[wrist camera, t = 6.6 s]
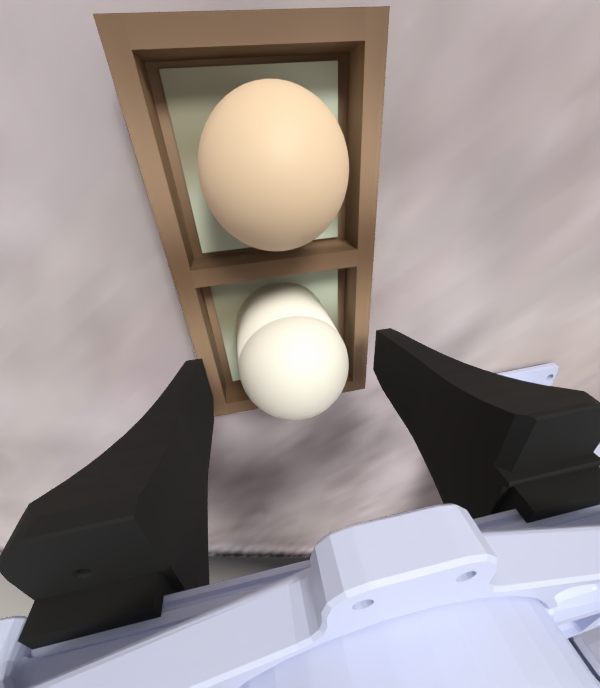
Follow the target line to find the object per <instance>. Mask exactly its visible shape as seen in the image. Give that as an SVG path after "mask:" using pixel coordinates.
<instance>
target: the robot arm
mask: <svg viewBox="0 0 600 688" xmlns="http://www.w3.org/2000/svg"><path fill="white" fill-rule="evenodd" d="M558 369H559V367H558V366H557V365H555V364H554V363H549V364H543V365H538V366H533V367H528V368H522V369H517V370H512V371H507V372H502V373H492V372H489V371H486V370H482V369H480V368H477V367H474V366H471V365H468V364H466V363H463V362H460V361H458V360H455V359H453V358H451V357H448V356H446V355H444V354H442V353H439V352H437V351H435V350H433V349H431V348H429V347H427V346H425V345H423V344H421V343H419V342H417V341H415V340H413V339H411V338H409V337H407V336H406V335H404V334H402V333H400V332H398V331H395V330H393V329H391V328H389V329H382V330H376V341H375V354H374V367H373V370H374V372H375V374H376V376H377V379H378V381H379V383H380V385H381V387H382V389H383V391H384V392H385V394H386V396H387V397H388V399H389V400H390V402H391V403H392V405H393V407H394V408H395V410H396V411H397V413H398V414H399V416H400V417H401V419H402V420H403V422H404V424H405V425H406V427H407V428H408V430H409V432H410V433H411V435H412V437H413V439H414V440H415V442H416V444H417V446H418V448H419V450H420V452H421V454H422V456H423V459H424V461H425V463H426V465H427V467H428V469H429V471H430V473H431V476H432V478H433V480H434V482H435V485H436V487H437V489H438V491H439V494H440V496H441V498H442V501H443V503H444V504H437V505H431V506H427V507H423V508H419V509H415V510H410V511H406V512H402V513H398V514H394V515H389V516H385V517H381V518H377V519H373V520H368V521H364V522H360V523H356V524H352V525H348V526H345V527H343V528H340V529H337V530H335V531H332V532H330V533H329V534H327V535H326V536H325V537H324V538H322V539H321V540H320V541H318V542H317V544H316V545H315V547H314V550H313V552H312V554H311V557H310V560H307V561H303V562H299V563H295V564H291V565H287V566H283V567H278V568H274V569H270V570H266V571H262V572H258V573H254V574H250V575H246V576H242V577H238V578H234V579H230V580H226V581H222V582H218V583H214V584H210V585H209V566H208V565H209V564H208V509H207V499H208V468H209V459H210V451H211V442H212V433H213V424H214V400H213V394H212V391H211V387H210V384H209V380H208V377H207V373H206V370H205V367H204V363H203V360H202V358H201V359H195V360H189V361H186V362H185V363H184V365H183V366H182V367H181V369H180V370H179V372H178V373H177V374H176V376H175V377H174V379H173V380H172V381H171V383H170V384H169V385H168V387H167V388H166V389H165V391H164V392H163V393H162V395H161V396H160V397H159V399H158V400H157V401H156V402H155V403H154V404H153V406H152V407H151V408H150V409H149V410H148V412H147V413H146V414H145V415H144V416H143V417H142V418H141V419H140V420H139V421H138V422H137V423H136V424H135V425H134V426H133V427H132V428H131V429H130V430H129V431H128V432H127V433H126V434H125V435H124V436H123V437H121V438H120V439H119V440H118V441H117V442H116V443H114V444H113V445H112V446H111V447H110V448H109V449H107V450H106V451H105V452H104V453H103V454H101V455H100V456H99V457H98V458H96V459H95V460H94V461H92V462H91V463H90V464H88V465H87V466H86V467H84V468H83V469H82V470H80V471H79V472H77V473H76V474H75V475H73V476H72V477H70V478H69V479H67V480H66V481H64V482H63V483H61V484H60V485H58V486H57V487H55V488H54V489H52V490H50V491H49V492H47V493H46V494H44V495H43V496H41V497H40V498H38V499H36V500H35V501H33V502H31V503H30V504H29V505H28V507H27V508H26V510H25V512H24V514H23V515H22V517H21V519H20V521H19V522H18V524H17V526H16V528H15V530H14V531H13V533H12V535H11V537H10V539H9V541H8V542H7V544H6V546H5V548H4V550H3V552H2V553H1V555H0V572H1V574H2V575H3V576H4V577H5V578H6V579H7V580H8V581H9V582H10V583H12V584H13V585H15V586H16V587H17V588H18V589H20V590H21V591H23V592H24V593H25V594H27V595H28V596H29V597H31V598H32V599H33V600H35V601H34V604H33V606H32V609H31V611H30V613H29V616H28V617H25V616H12V617H6V618H2V619H0V688H600V402H599V401H597V400H596V399H594V398H593V397H592V396H590V395H589V394H588V393H586V392H584V391H579V390H572V389H566V388H559V387H553V386H551V384H552V382H553V380H554V378H555V376H556V374H557V372H558Z"/></svg>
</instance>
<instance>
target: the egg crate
mask: <svg viewBox="0 0 600 688" xmlns="http://www.w3.org/2000/svg"><path fill="white" fill-rule="evenodd" d="M389 9H390V6H382V7H343V8H303V9H264V10H225V11H185V12H146V13H107V14H93V16H94V19H95V22H96V26H97V29H98V32H99V35H100V39H101V42H102V45H103V49H104V52H105V55H106V59H107V62H108V65H109V68H110V72H111V75H112V78H113V82H114V85H115V88H116V92H117V95H118V98H119V102H120V105H121V108H122V111H123V115H124V118H125V121H126V125H127V128H128V131H129V135H130V138H131V141H132V144H133V148H134V151H135V154H136V158H137V161H138V164H139V168H140V171H141V174H142V177H143V181H144V184H145V187H146V191H147V194H148V197H149V201H150V204H151V207H152V211H153V214H154V217H155V220H156V224H157V227H158V230H159V234H160V237H161V240H162V244H163V247H164V250H165V253H166V257H167V260H168V263H169V267H170V270H171V273H172V277H173V280H174V283H175V286H176V290H177V293H178V296H179V300H180V303H181V306H182V310H183V313H184V316H185V320H186V323H187V326H188V329H189V333H190V336H191V339H192V343H193V346H194V349H195V353H196V356H197V359H201V358H202V360H203V363H204V367H205V370H206V373H207V377H208V380H209V384H210V387H211V391H212V394H213V400H214V415H215V416H220V415H225V414H231V413H236V412H241V411H247V410H252V409H257V408H258V407H257V406H256V405H255V404H254V403H253V402H252V401H251V400H250V398H249V397H248V395H247V394H246V392H245V390H244V388H243V386H242V383H241V380H240V376H239V368H238V351H237V333H236V319H237V314H238V311H239V309H240V307H241V305H242V303H243V302H244V301H245V299H246V298H247V297H248V296H249V295H250V294H251V293H253V292H254V291H255V290H257V289H259V288H260V287H263V286H265V285H268V284H271V283H276V282H291V283H296V284H299V285H302V286H304V287H306V288H308V289H309V290H310V291H312V292H313V293H314V294H315V295H316V296H317V298H318V299H319V300H320V302H321V304H322V305H323V307H324V309H325V310H326V312H327V314H328V316H329V317H330V319H331V321H332V322H333V324H334V326H335V327H336V329H337V331H338V332H339V334H340V336H341V338H342V340H343V342H344V344H345V347H346V349H347V354H348V360H349V370H348V376H347V380H346V384H345V386H344V388H343V390H342V392H341V393H343V392H348V391H354V390H359V389H364V388H365V381H366V365H367V350H368V334H369V319H370V303H371V288H372V272H373V257H374V241H375V226H376V210H377V195H378V179H379V164H380V148H381V133H382V117H383V102H384V86H385V71H386V55H387V40H388V24H389ZM260 79H281V80H286V81H290V82H293V83H295V84H298V85H300V86H302V87H304V88H305V89H307V90H309V91H310V92H312V93H313V94H314V95H315V96H317V97H318V98H319V99H320V100H321V101H322V102H323V103H324V104H325V105H326V106H327V107H328V108H329V110H330V111H331V112H332V114H333V115H334V117H335V118H336V120H337V122H338V124H339V126H340V128H341V131H342V133H343V136H344V139H345V142H346V146H347V151H348V158H349V178H348V185H347V191H346V194H345V198H344V201H343V203H342V206H341V208H340V210H339V212H338V214H337V215H336V217H335V219H334V220H333V221H332V223H331V224H330V225H329V227H328V228H327V229H326V230H325V231H324V232H323V233H322V234H320V235H319V236H318V237H317V238H315V239H314V240H312V241H311V242H309V243H307V244H305V245H303V246H301V247H298V248H295V249H292V250H286V251H266V250H261V249H257V248H254V247H251V246H249V245H247V244H245V243H243V242H241V241H239V240H238V239H236V238H235V237H233V236H232V235H231V234H230V233H229V232H227V231H226V230H225V229H224V228H223V227H222V226H221V224H220V223H219V222H218V221H217V220H216V218H215V217H214V215H213V214H212V212H211V210H210V209H209V207H208V205H207V203H206V200H205V198H204V196H203V193H202V189H201V186H200V181H199V175H198V148H199V143H200V138H201V134H202V131H203V129H204V126H205V123H206V122H207V120H208V118H209V116H210V114H211V112H212V111H213V110H214V108H215V107H216V105H217V104H218V103H219V102H220V101H221V100H222V99H223V98H224V97H225V96H226V95H227V94H229V93H230V92H231V91H233V90H234V89H235V88H237V87H239V86H241V85H243V84H245V83H248V82H251V81H254V80H260Z"/></svg>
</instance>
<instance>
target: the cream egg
mask: <svg viewBox="0 0 600 688" xmlns="http://www.w3.org/2000/svg"><path fill="white" fill-rule="evenodd" d="M236 333H237V351H238V368H239V376H240V380H241V383H242V386H243V388H244V390H245V392H246V394H247V395H248V397H249V398H250V400H251V401H252V402H253V403H254V404H255V405H256V406H257V407H258V408H260V409H261V410H262V411H264V412H265V413H267V414H269V415H271V416H273V417H276V418H280V419H285V420H303V419H307V418H311V417H313V416H316V415H318V414H320V413H322V412H323V411H325V410H326V409H328V408H329V407H330V406H331V405H332V404H333V403H334V402H335V401H336V400H337V398H338V397H339V396H340V394H341V392H342V390H343V388H344V386H345V384H346V380H347V376H348V370H349V360H348V354H347V349H346V347H345V344H344V342H343V340H342V338H341V336H340V334H339V332H338V331H337V329H336V327H335V326H334V324H333V322H332V321H331V319H330V317H329V316H328V314H327V312H326V310H325V309H324V307H323V305H322V304H321V302H320V300H319V299H318V298H317V296H316V295H315V294H314V293H313V292H312V291H310V290H309V289H308V288H306V287H304V286H302V285H299V284H296V283H291V282H276V283H271V284H268V285H265V286H263V287H260V288H259V289H257V290H255V291H254V292H253V293H251V294H250V295H249V296H248V297H247V298H246V299H245V301H244V302H243V303H242V305H241V307H240V309H239V311H238V314H237V319H236Z"/></svg>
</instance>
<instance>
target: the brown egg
mask: <svg viewBox="0 0 600 688" xmlns="http://www.w3.org/2000/svg"><path fill="white" fill-rule="evenodd" d="M198 175H199V181H200V186H201V189H202V193H203V196H204V198H205V200H206V203H207V205H208V207H209V209H210V210H211V212H212V214H213V215H214V217H215V218H216V220H217V221H218V222H219V223H220V224H221V226H222V227H223V228H224V229H225V230H226V231H227V232H229V233H230V234H231V235H232V236H233V237H235V238H236V239H238V240H239V241H241V242H243V243H245V244H247V245H249V246H251V247H254V248H257V249H261V250H266V251H286V250H292V249H295V248H298V247H301V246H303V245H305V244H307V243H309V242H311V241H312V240H314V239H315V238H317V237H318V236H319V235H320V234H322V233H323V232H324V231H325V230H326V229H327V228H328V227H329V225H330V224H331V223H332V221H333V220H334V219H335V217H336V215H337V214H338V212H339V210H340V208H341V206H342V203H343V201H344V198H345V194H346V191H347V185H348V178H349V158H348V151H347V146H346V142H345V139H344V136H343V133H342V131H341V128H340V126H339V124H338V122H337V120H336V118H335V117H334V115H333V114H332V112H331V111H330V110H329V108H328V107H327V106H326V105H325V104H324V103H323V102H322V101H321V100H320V99H319V98H318V97H317V96H315V95H314V94H313V93H312V92H310V91H309V90H307V89H305V88H304V87H302V86H300V85H298V84H295V83H293V82H290V81H286V80H281V79H260V80H254V81H251V82H248V83H245V84H243V85H241V86H239V87H237V88H235V89H234V90H233V91H231V92H230V93H229V94H227V95H226V96H225V97H224V98H223V99H222V100H221V101H220V102H219V103H218V104H217V105H216V107H215V108H214V110H213V111H212V112H211V114H210V116H209V118H208V120H207V122H206V123H205V126H204V129H203V131H202V134H201V138H200V143H199V148H198Z"/></svg>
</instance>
